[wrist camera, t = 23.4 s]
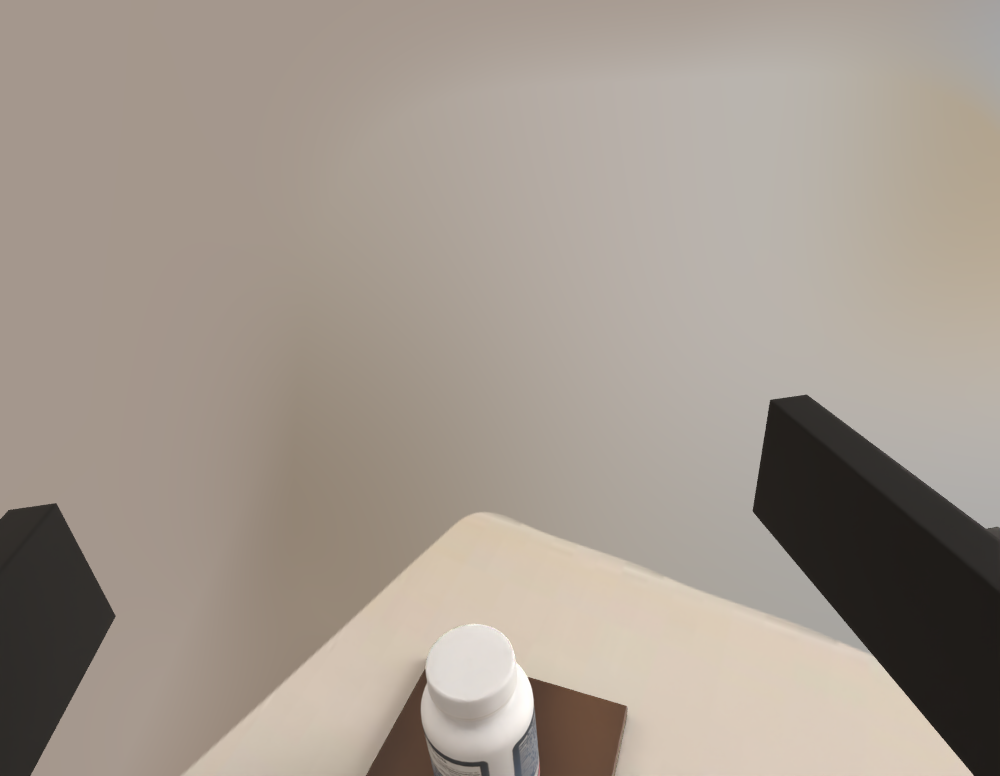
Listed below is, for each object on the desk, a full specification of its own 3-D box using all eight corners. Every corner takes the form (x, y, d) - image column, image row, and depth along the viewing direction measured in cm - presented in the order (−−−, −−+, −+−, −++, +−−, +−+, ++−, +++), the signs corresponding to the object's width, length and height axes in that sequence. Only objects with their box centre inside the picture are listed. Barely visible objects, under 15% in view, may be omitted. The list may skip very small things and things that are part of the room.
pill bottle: (513, 710, 33) (501, 596, 29) (558, 800, 29) (553, 681, 25) (423, 753, 31) (397, 637, 27) (457, 856, 27) (433, 737, 23)
